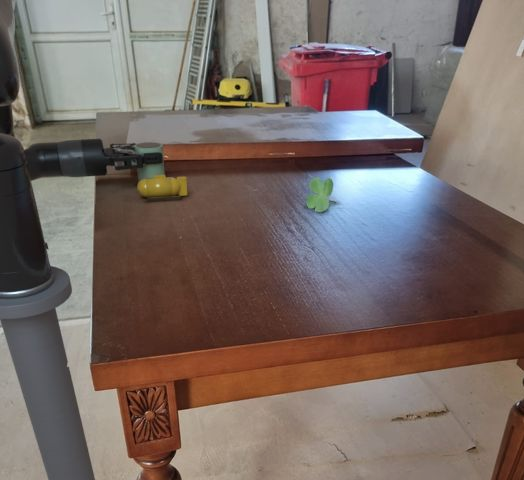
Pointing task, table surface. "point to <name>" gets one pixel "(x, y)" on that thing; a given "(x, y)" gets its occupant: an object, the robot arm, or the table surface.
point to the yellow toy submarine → (162, 188)
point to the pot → (149, 169)
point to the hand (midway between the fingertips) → (159, 153)
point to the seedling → (319, 194)
